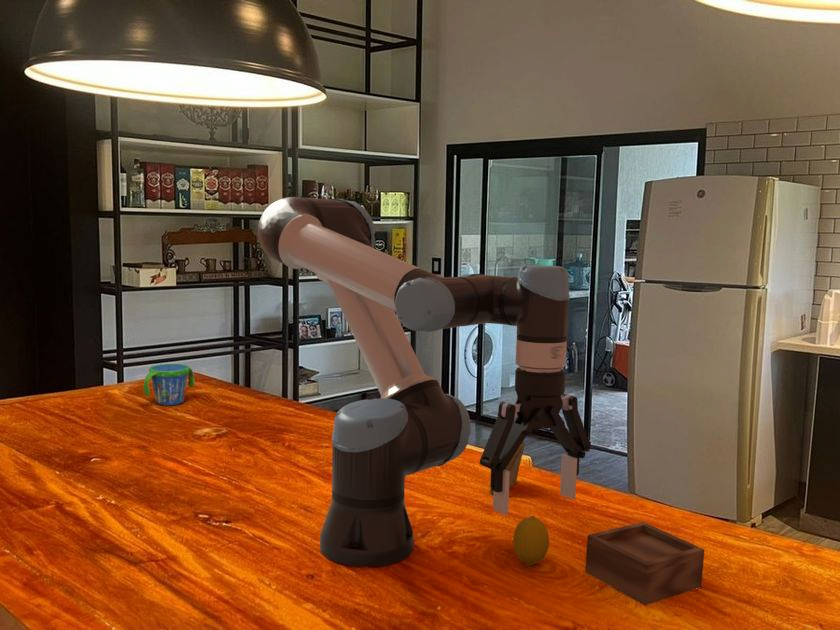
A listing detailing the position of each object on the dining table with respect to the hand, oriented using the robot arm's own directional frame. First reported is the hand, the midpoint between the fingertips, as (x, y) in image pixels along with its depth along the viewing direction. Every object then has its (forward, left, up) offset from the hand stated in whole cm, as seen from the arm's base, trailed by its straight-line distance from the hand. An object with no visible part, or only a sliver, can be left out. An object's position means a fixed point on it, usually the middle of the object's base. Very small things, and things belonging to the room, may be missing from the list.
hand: (535, 504), depth 122 cm
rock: (+19, +31, -10) cm, 38 cm away
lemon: (0, 0, -10) cm, 10 cm away
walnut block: (+12, -12, -10) cm, 20 cm away
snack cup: (-20, +129, -10) cm, 131 cm away
